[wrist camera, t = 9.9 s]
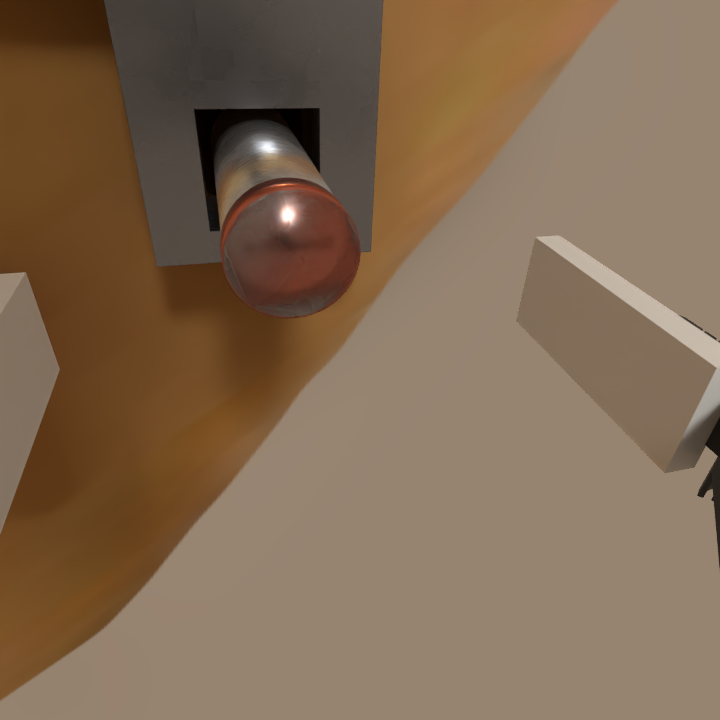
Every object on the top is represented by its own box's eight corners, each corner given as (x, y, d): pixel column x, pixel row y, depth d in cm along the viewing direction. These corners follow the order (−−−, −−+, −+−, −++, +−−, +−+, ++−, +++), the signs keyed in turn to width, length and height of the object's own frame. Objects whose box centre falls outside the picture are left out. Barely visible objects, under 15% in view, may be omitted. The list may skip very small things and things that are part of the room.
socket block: (95, -134, 20) (71, -163, 16) (354, -112, 22) (389, -132, 18) (162, 226, 28) (156, 266, 24) (347, 216, 30) (370, 251, 26)
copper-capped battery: (204, 99, 25) (213, 191, 14) (291, 98, 26) (362, 184, 15) (215, 186, 28) (229, 324, 16) (294, 183, 28) (358, 312, 17)
